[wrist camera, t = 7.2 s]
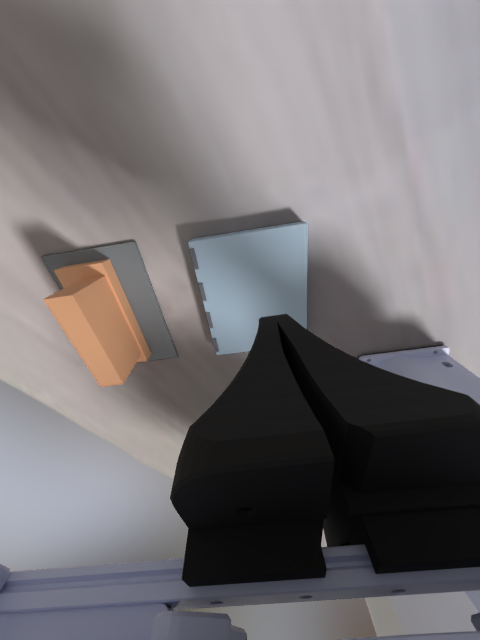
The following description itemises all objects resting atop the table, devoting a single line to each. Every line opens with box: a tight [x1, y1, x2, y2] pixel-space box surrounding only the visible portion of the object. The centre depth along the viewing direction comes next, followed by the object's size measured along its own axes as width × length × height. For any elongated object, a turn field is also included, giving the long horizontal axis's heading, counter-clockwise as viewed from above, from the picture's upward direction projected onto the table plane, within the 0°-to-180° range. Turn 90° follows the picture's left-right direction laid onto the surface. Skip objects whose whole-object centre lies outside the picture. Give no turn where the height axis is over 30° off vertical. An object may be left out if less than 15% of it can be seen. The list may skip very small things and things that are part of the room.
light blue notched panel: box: [188, 221, 308, 355], centre depth 19 cm, size 9×11×2 cm
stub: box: [43, 259, 151, 387], centre depth 18 cm, size 4×10×5 cm, turn 8°
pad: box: [41, 241, 178, 362], centre depth 21 cm, size 8×12×1 cm, turn 8°
